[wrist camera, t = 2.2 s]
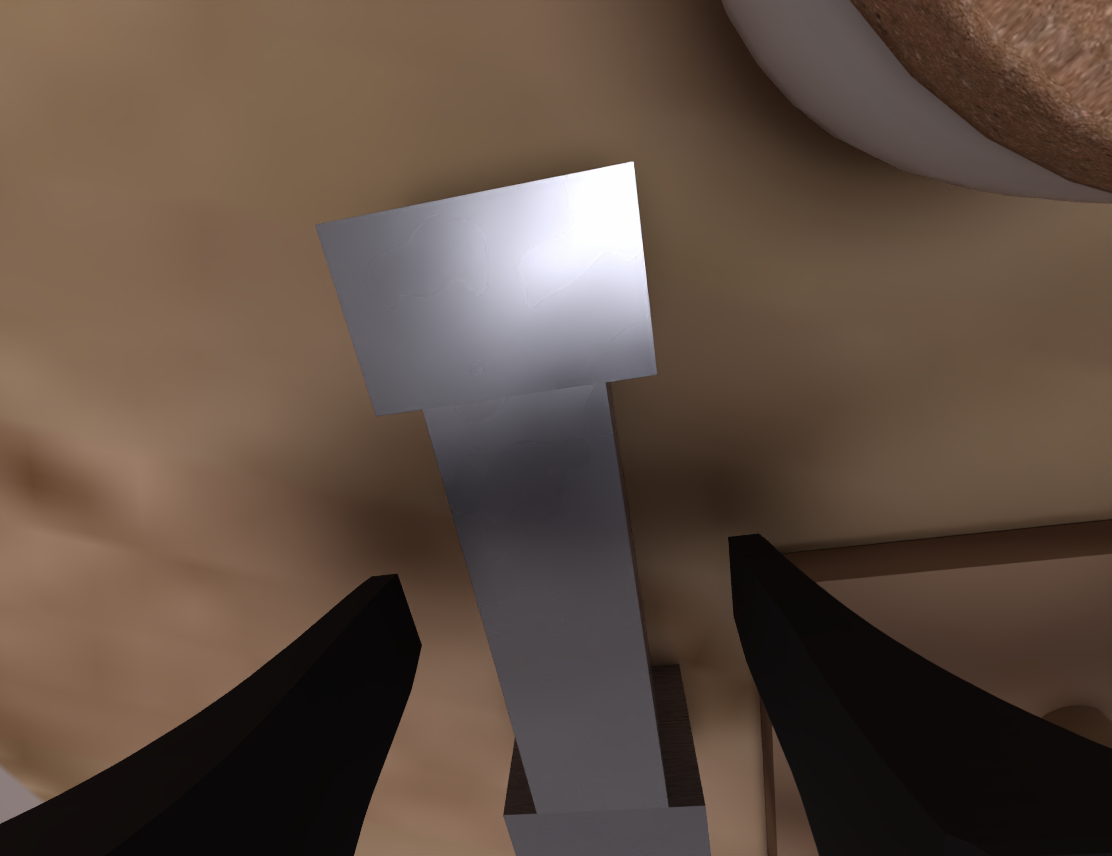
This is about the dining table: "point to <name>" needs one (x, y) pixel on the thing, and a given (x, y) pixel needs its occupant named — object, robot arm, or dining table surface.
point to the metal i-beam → (538, 483)
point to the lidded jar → (952, 85)
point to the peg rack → (975, 630)
